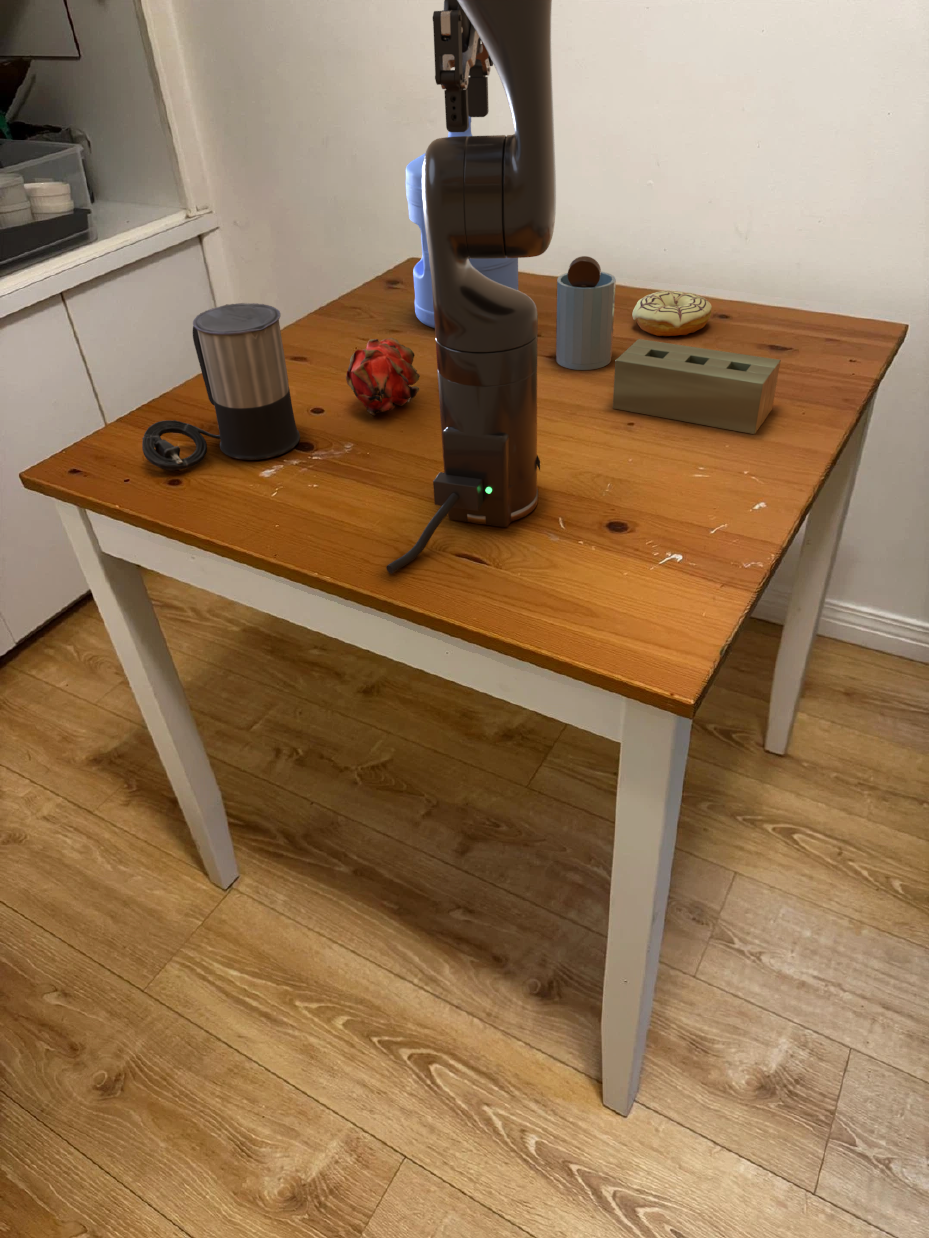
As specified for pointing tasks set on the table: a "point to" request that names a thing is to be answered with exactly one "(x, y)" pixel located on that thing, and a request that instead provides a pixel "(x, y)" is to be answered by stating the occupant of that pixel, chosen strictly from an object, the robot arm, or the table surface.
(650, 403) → the stand
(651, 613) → the table surface
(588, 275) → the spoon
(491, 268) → the water jug
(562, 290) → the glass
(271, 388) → the milk frother
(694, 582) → the table surface
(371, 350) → the dragon fruit
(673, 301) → the decorated donut
